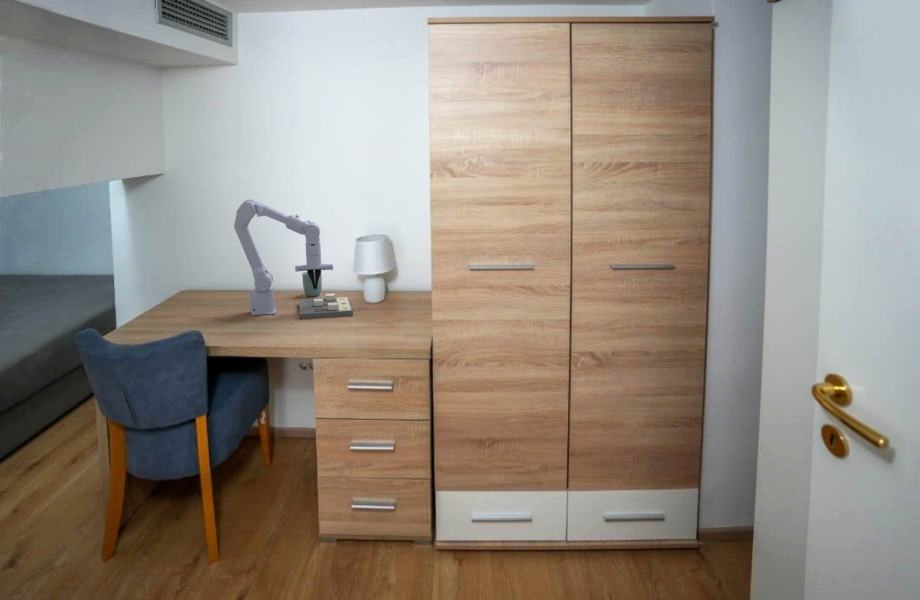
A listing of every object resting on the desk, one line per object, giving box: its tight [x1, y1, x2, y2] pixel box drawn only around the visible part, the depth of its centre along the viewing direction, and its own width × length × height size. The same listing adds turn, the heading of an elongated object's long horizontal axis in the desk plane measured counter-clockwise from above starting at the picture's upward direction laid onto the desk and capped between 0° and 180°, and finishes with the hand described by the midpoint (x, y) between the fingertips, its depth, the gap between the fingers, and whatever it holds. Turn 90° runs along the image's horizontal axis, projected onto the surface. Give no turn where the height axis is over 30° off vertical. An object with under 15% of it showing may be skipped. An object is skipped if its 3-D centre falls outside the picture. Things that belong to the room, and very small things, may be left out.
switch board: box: [298, 296, 354, 320], centre depth 321 cm, size 20×24×2 cm
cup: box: [301, 270, 323, 298], centre depth 344 cm, size 8×8×10 cm
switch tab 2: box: [325, 293, 336, 301], centre depth 328 cm, size 4×4×2 cm
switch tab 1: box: [313, 298, 323, 306], centre depth 320 cm, size 4×4×2 cm
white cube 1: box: [328, 303, 338, 310], centre depth 313 cm, size 4×4×2 cm
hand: (315, 288), depth 319 cm, fingers closed
